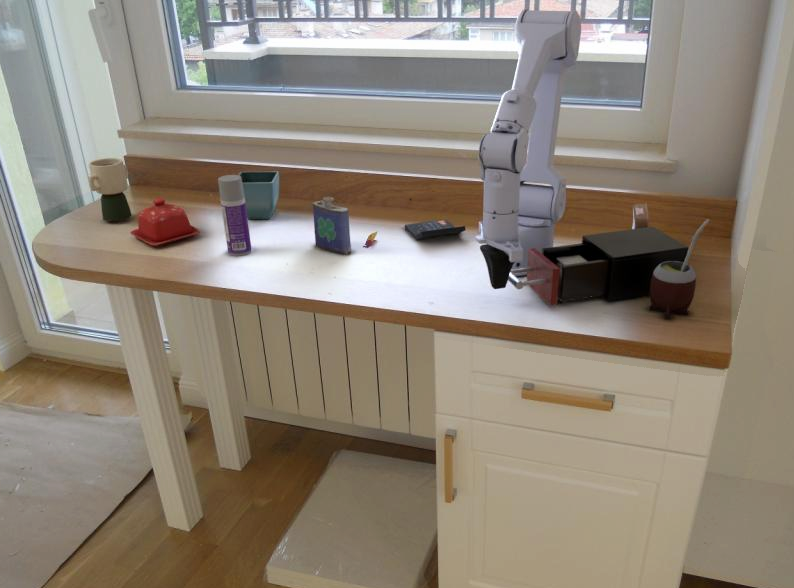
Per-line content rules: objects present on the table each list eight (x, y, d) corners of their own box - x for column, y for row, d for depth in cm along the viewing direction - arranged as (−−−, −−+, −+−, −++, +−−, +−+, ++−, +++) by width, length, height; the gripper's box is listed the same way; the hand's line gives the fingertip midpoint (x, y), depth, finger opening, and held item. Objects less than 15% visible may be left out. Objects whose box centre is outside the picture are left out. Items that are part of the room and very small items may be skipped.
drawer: (519, 310, 133) (520, 273, 130) (496, 288, 142) (497, 252, 138) (621, 295, 138) (625, 258, 135) (593, 273, 146) (597, 239, 143)
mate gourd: (644, 317, 132) (656, 230, 124) (650, 298, 138) (661, 214, 131) (691, 323, 130) (706, 235, 122) (695, 304, 136) (710, 218, 128)
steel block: (565, 290, 138) (567, 266, 135) (554, 281, 141) (555, 257, 139) (588, 287, 139) (590, 263, 136) (576, 278, 142) (579, 254, 140)
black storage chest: (608, 302, 137) (613, 257, 133) (578, 278, 146) (582, 235, 142) (681, 291, 141) (688, 247, 136) (647, 268, 150) (653, 226, 146)
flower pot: (277, 222, 177) (272, 182, 173) (237, 223, 177) (232, 182, 173) (283, 209, 185) (279, 170, 180) (245, 210, 185) (240, 171, 180)
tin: (647, 266, 151) (653, 223, 147) (630, 265, 151) (635, 222, 147) (644, 238, 164) (649, 198, 159) (628, 237, 164) (633, 197, 160)
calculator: (445, 223, 174) (445, 209, 173) (465, 240, 165) (465, 226, 163) (404, 228, 172) (404, 215, 170) (422, 246, 162) (422, 232, 161)
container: (256, 249, 163) (246, 176, 155) (242, 257, 159) (232, 182, 152) (237, 246, 165) (227, 173, 157) (223, 254, 161) (212, 180, 153)
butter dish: (152, 251, 163) (144, 210, 159) (128, 237, 171) (120, 198, 166) (203, 237, 170) (197, 198, 165) (178, 224, 177) (171, 186, 173)
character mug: (123, 210, 187) (111, 154, 180) (147, 214, 184) (135, 157, 177) (88, 225, 178) (74, 166, 172) (112, 229, 175) (98, 170, 169)
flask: (354, 251, 160) (350, 199, 155) (343, 256, 159) (339, 203, 153) (321, 242, 166) (317, 191, 160) (311, 246, 164) (306, 195, 158)
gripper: (462, 198, 134) (461, 274, 141) (494, 226, 122) (492, 307, 129) (501, 194, 136) (499, 269, 143) (537, 220, 124) (532, 301, 131)
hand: (498, 287), depth 136 cm, fingers closed
